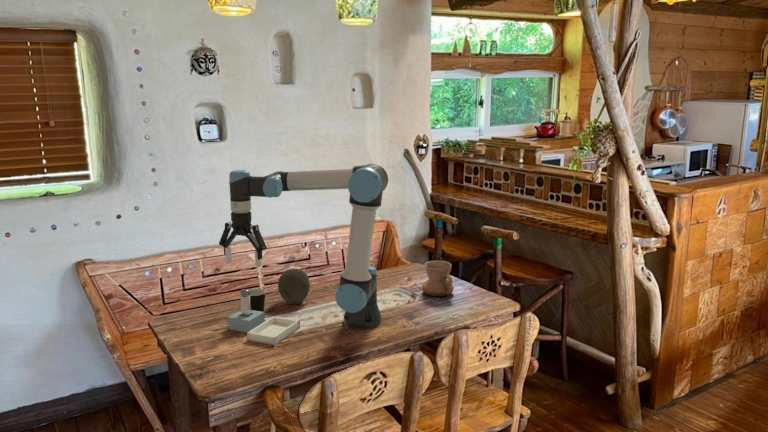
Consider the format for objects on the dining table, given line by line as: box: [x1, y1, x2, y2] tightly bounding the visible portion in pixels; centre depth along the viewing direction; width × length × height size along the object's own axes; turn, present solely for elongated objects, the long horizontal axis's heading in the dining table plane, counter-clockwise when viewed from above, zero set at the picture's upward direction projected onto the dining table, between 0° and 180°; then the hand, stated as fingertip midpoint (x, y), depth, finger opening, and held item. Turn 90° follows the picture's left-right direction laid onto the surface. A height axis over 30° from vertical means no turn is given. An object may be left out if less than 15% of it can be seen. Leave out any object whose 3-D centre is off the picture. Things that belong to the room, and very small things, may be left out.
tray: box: [246, 316, 301, 346], centre depth 226 cm, size 12×18×3 cm, turn 157°
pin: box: [240, 288, 251, 317], centre depth 232 cm, size 4×4×15 cm
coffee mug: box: [250, 288, 267, 313], centre depth 245 cm, size 12×9×10 cm
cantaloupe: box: [277, 268, 311, 305], centre depth 259 cm, size 14×14×15 cm
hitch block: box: [227, 309, 266, 333], centre depth 233 cm, size 10×10×5 cm
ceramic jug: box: [421, 260, 455, 297], centre depth 269 cm, size 18×14×14 cm
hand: (243, 265), depth 228 cm, fingers open, 13 cm apart
